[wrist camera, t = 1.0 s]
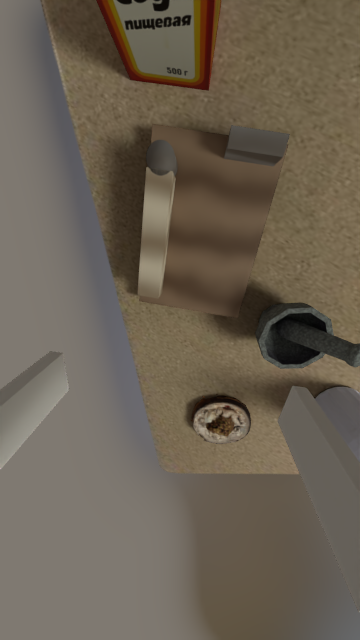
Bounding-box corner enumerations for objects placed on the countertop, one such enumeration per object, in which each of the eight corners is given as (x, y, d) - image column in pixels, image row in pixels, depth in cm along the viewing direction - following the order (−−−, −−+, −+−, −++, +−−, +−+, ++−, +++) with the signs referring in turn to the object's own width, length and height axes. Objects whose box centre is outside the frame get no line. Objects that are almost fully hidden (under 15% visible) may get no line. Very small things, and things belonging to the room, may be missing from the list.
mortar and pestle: (246, 346, 36) (267, 393, 25) (248, 296, 32) (274, 326, 21) (312, 343, 35) (365, 393, 24) (322, 291, 31) (390, 321, 20)
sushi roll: (257, 388, 40) (264, 404, 36) (252, 439, 46) (257, 458, 42) (185, 387, 41) (183, 402, 38) (188, 437, 47) (187, 454, 43)
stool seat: (156, 134, 25) (146, 108, 20) (280, 153, 25) (300, 131, 20) (143, 296, 34) (133, 307, 29) (235, 312, 34) (241, 326, 29)
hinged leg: (153, 149, 24) (147, 137, 21) (179, 153, 24) (176, 142, 21) (142, 289, 31) (136, 294, 28) (162, 293, 31) (158, 298, 28)
